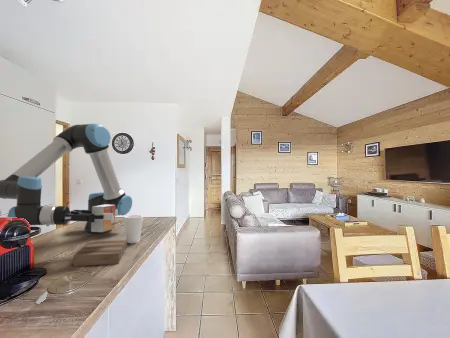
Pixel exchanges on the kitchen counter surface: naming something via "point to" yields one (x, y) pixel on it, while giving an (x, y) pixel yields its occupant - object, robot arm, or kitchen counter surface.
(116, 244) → the walnut plinth
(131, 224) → the foam cup
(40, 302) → the butter knife
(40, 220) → the robot arm
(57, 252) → the kitchen counter surface
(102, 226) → the small box
